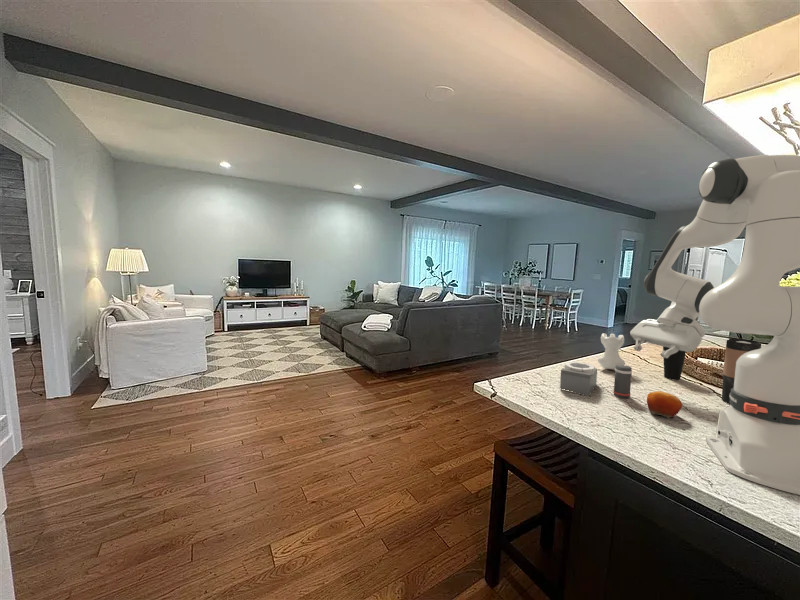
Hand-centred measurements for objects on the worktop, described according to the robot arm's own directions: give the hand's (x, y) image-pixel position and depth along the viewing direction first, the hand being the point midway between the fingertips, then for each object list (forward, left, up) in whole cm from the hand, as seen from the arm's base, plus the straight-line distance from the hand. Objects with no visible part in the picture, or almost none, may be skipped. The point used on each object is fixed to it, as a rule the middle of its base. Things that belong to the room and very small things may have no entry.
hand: (649, 352), depth 111 cm
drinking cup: (+24, -7, -14) cm, 29 cm away
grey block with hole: (-9, +19, -14) cm, 25 cm away
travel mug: (+7, -23, -14) cm, 28 cm away
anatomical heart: (+22, +13, -14) cm, 30 cm away
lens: (-9, +6, -14) cm, 18 cm away
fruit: (-18, -5, -14) cm, 23 cm away
